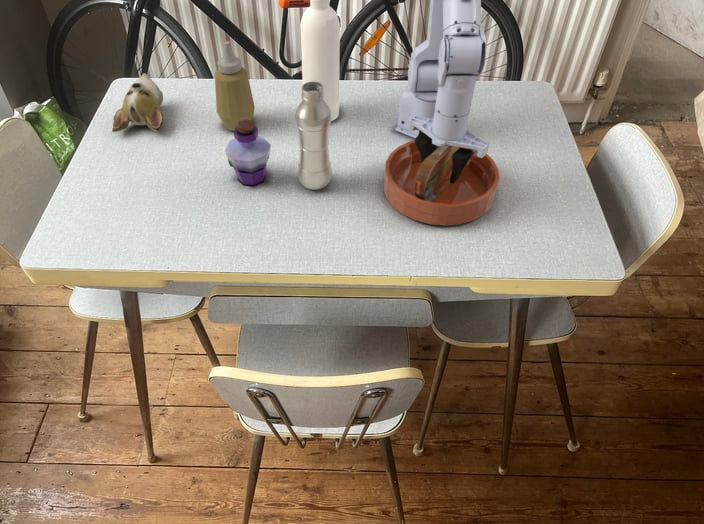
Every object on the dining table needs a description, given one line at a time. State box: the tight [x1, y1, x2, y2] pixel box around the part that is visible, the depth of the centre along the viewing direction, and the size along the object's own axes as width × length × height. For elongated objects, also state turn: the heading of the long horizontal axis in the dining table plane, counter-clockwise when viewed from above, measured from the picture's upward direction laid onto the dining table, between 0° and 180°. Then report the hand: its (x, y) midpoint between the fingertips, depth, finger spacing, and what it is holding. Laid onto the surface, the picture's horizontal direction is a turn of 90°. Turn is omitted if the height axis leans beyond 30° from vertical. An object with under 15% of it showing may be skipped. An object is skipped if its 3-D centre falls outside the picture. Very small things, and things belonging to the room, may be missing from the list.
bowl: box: [383, 139, 500, 226], centre depth 106 cm, size 20×20×5 cm
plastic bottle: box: [294, 81, 333, 191], centre depth 103 cm, size 6×7×20 cm
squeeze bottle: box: [214, 40, 255, 132], centre depth 117 cm, size 8×8×18 cm
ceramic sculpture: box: [111, 72, 164, 133], centre depth 122 cm, size 11×9×15 cm
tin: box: [415, 145, 459, 202], centre depth 105 cm, size 15×3×8 cm, turn 142°
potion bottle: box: [224, 119, 272, 187], centre depth 107 cm, size 9×9×12 cm
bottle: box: [299, 0, 341, 122], centre depth 115 cm, size 8×8×30 cm
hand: (440, 174), depth 105 cm, fingers open, 5 cm apart
